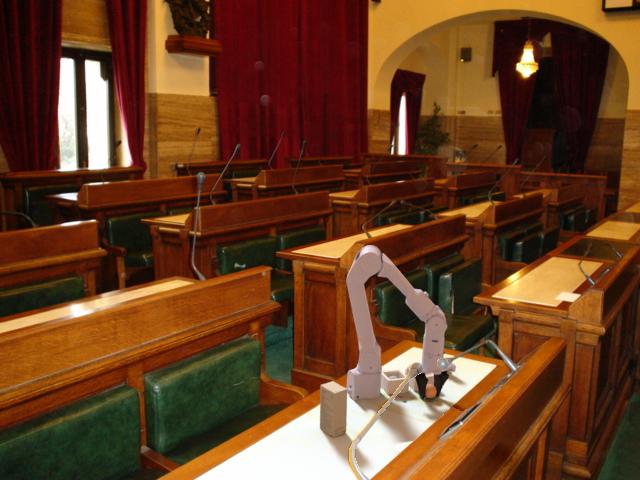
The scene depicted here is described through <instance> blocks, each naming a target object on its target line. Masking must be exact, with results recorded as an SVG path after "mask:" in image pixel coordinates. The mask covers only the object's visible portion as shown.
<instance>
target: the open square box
mask: <svg viewBox="0 0 640 480" xmlns="http://www.w3.org/2000/svg"><path fill="white" fill-rule="evenodd" d="M391 376H396V377H398V379H389V377H391ZM405 378H406V375H405V372H403V370H401V369H397V368H396V369H389V370H382V376H381V389H382V390H383V392H384V393H385V394H386V395H394V394H393V393H394V392H395V391H396V389H397V388H398V387H399V385H400V384H401V383H402V382H403V381H404V380H405ZM409 388H410V387H409V382H408V383H407V384H406V385H405V386H404V388H403V389H402V390H401V392H400V393H399V394H404V393H409Z"/></svg>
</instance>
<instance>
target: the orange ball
mask: <svg viewBox="0 0 640 480" xmlns="http://www.w3.org/2000/svg"><path fill="white" fill-rule="evenodd" d="M436 393H437V390H436V388H435V386H434V385H432V384H427V386H426V393H425V397H426V398H433V397H435V395H436Z"/></svg>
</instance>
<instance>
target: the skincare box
mask: <svg viewBox="0 0 640 480" xmlns="http://www.w3.org/2000/svg"><path fill="white" fill-rule="evenodd" d="M319 399H320V400H319V401H320V402H319V403H320V404H319V428H320V429H321V430H322V431H324V432H325V433H326V434H328V435H330V437H331V436H332V437H333V438H335V437H338V436H340V435H343V434H346V433H347V414H348V413H347V411H348V393H347V387H345V386H342V385H341V384H339V383H337V382H335V381H334V380H332V381H329V382H325V383H322V384H320V397H319Z"/></svg>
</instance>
